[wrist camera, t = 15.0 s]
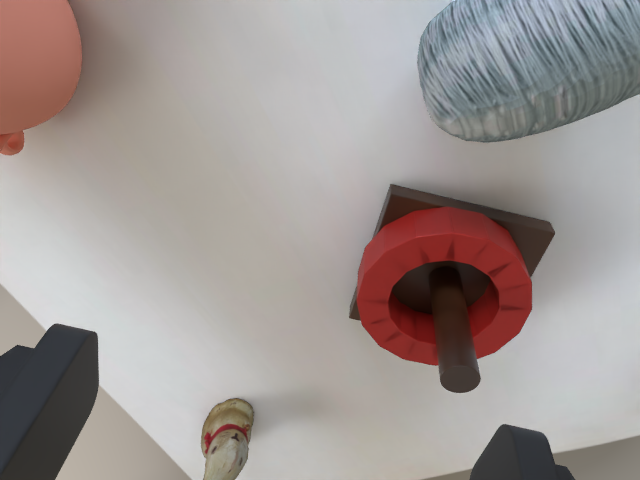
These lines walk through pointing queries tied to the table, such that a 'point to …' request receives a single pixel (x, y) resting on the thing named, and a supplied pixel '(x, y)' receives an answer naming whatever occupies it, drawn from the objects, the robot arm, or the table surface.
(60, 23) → the sugar bowl
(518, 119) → the spool
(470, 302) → the peg stand
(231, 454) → the chocolate bunny
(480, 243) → the tape roll
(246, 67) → the table surface
